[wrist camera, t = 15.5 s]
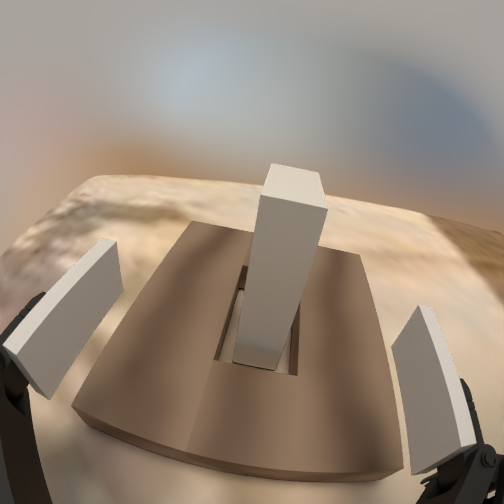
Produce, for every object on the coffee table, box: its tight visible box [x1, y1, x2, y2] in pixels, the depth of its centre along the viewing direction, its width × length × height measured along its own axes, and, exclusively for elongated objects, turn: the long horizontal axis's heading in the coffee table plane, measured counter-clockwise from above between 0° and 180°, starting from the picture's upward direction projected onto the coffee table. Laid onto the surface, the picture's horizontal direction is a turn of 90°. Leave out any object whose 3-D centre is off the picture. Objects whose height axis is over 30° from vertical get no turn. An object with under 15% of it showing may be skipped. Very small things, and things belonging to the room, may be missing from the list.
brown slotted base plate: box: [71, 221, 404, 482], centre depth 20 cm, size 18×22×2 cm
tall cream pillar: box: [233, 163, 328, 370], centre depth 18 cm, size 3×6×12 cm, turn 171°
